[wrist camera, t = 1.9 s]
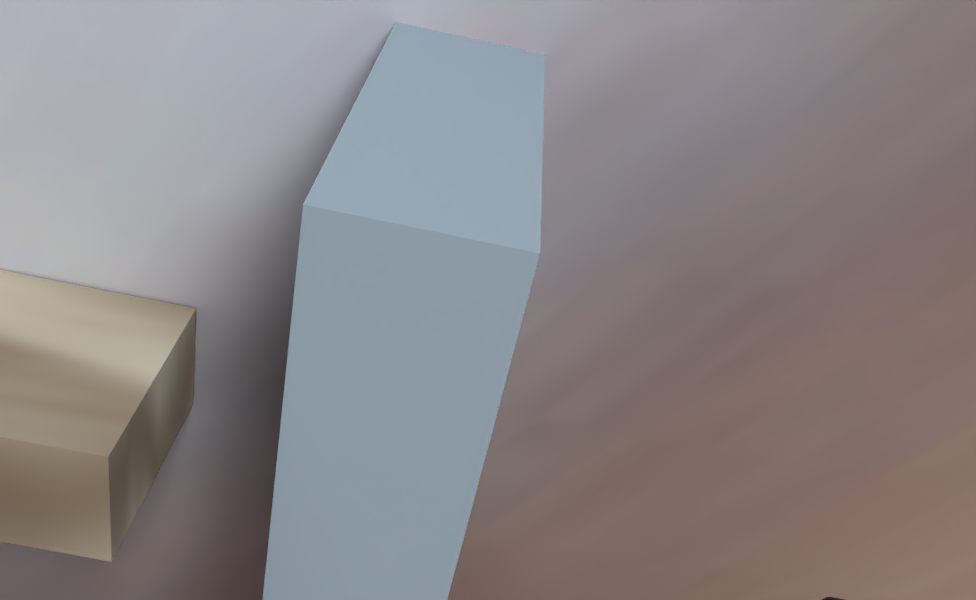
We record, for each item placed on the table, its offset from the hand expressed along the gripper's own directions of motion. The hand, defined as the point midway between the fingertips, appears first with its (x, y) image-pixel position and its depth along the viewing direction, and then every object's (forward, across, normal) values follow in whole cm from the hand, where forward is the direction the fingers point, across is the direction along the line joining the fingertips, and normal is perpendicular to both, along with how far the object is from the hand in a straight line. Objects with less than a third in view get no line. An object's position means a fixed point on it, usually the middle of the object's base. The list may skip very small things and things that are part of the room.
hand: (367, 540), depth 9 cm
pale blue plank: (+10, 0, +4) cm, 10 cm away
